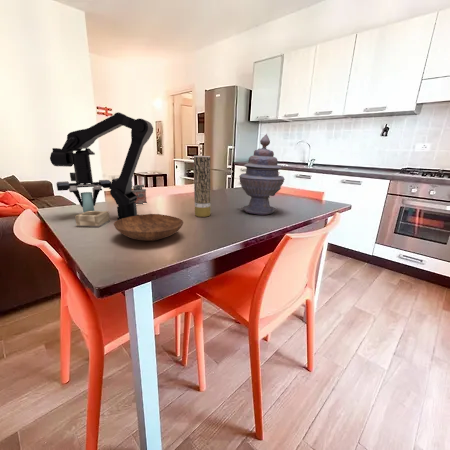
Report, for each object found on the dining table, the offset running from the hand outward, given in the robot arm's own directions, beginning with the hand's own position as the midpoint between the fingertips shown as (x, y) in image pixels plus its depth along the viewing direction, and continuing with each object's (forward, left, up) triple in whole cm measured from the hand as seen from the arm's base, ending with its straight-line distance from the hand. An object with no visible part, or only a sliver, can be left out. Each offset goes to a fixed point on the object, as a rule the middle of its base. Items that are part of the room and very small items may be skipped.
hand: (88, 206), depth 99 cm
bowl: (-32, +23, -5) cm, 40 cm away
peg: (0, 0, -4) cm, 4 cm away
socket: (-7, +10, -4) cm, 13 cm away
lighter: (-11, -28, -5) cm, 30 cm away
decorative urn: (-72, -15, -5) cm, 74 cm away
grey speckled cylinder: (-46, -6, -5) cm, 47 cm away
